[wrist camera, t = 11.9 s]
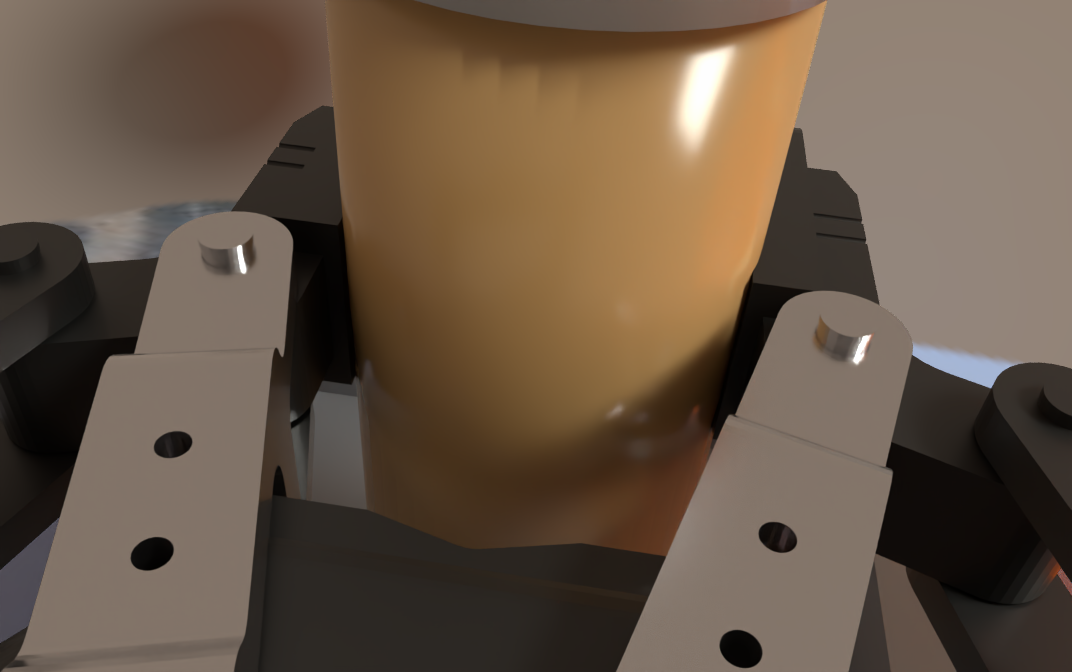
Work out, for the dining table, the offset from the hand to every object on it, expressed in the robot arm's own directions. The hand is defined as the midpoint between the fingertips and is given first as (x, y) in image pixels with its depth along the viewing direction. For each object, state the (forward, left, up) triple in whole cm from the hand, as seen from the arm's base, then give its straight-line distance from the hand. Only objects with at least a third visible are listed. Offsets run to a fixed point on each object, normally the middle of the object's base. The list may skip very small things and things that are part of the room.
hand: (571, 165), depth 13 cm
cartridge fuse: (0, -3, -7) cm, 8 cm away
